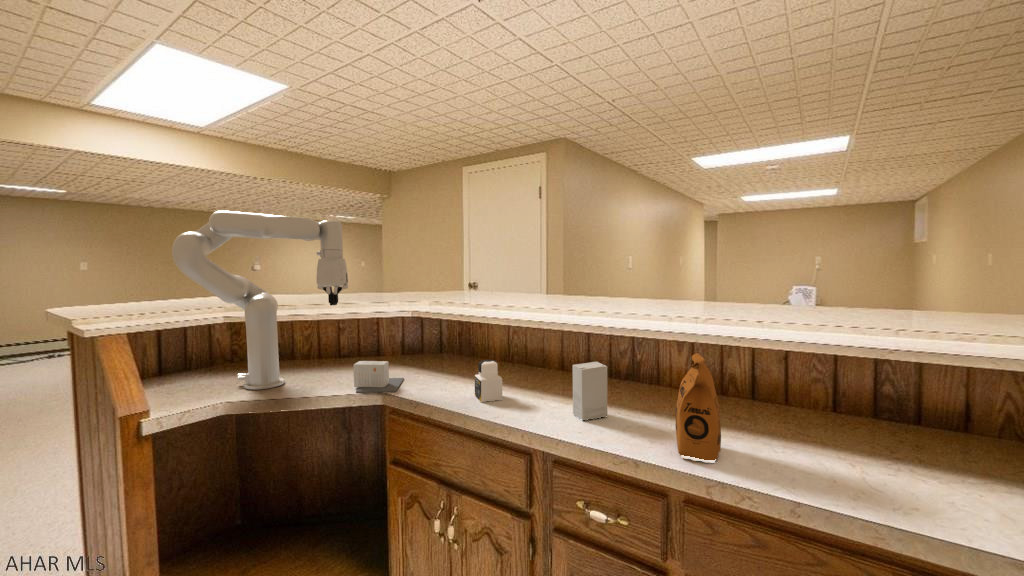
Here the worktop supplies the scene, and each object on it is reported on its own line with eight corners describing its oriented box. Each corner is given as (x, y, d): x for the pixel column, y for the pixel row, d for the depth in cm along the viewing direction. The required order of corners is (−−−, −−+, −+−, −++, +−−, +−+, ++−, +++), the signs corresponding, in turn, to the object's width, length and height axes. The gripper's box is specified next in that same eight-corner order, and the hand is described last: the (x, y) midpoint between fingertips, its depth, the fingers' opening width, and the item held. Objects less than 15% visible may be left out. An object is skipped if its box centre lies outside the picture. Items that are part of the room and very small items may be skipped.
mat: (355, 392, 154) (355, 391, 154) (367, 379, 170) (367, 378, 170) (395, 392, 155) (395, 390, 155) (403, 379, 170) (403, 377, 170)
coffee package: (671, 459, 103) (673, 361, 102) (676, 439, 115) (678, 350, 113) (720, 467, 99) (723, 366, 98) (720, 445, 111) (723, 354, 109)
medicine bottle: (474, 396, 150) (474, 359, 149) (495, 393, 152) (495, 357, 151) (480, 402, 143) (480, 364, 142) (502, 400, 146) (502, 362, 145)
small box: (359, 383, 164) (389, 383, 163) (353, 387, 158) (383, 388, 157) (359, 360, 163) (389, 361, 163) (353, 364, 158) (383, 364, 157)
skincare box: (597, 411, 135) (597, 360, 134) (608, 418, 129) (609, 365, 128) (571, 415, 132) (571, 363, 131) (581, 422, 126) (582, 368, 125)
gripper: (307, 254, 165) (308, 306, 167) (350, 254, 166) (351, 306, 168) (314, 254, 173) (316, 304, 174) (355, 254, 174) (357, 303, 175)
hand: (333, 304), depth 171 cm, fingers closed
